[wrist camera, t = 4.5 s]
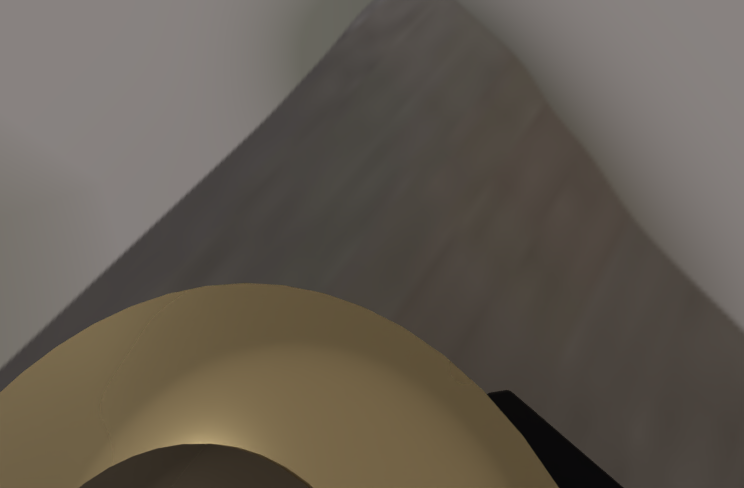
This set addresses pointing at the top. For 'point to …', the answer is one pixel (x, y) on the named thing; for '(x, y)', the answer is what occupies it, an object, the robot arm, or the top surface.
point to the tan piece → (254, 402)
